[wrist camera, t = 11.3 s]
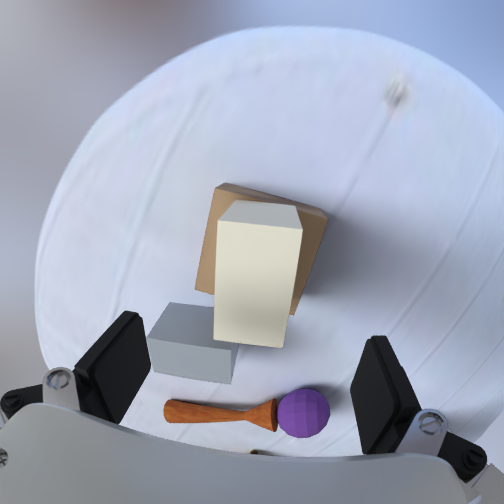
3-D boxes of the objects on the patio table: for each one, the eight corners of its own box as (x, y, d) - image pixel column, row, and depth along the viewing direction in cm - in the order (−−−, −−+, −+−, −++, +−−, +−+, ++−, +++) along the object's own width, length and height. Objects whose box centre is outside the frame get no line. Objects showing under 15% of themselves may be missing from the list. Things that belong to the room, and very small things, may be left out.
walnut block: (319, 207, 22) (328, 218, 19) (291, 291, 25) (293, 315, 21) (225, 182, 22) (214, 188, 19) (206, 269, 25) (194, 289, 21)
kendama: (152, 407, 28) (329, 409, 23) (172, 381, 33) (327, 375, 29) (168, 440, 28) (331, 445, 24) (185, 413, 34) (330, 411, 30)
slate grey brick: (240, 309, 26) (230, 350, 20) (239, 342, 27) (230, 384, 22) (169, 301, 26) (146, 337, 21) (173, 334, 28) (153, 371, 22)
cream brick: (235, 199, 19) (217, 220, 13) (294, 205, 18) (302, 229, 13) (229, 291, 21) (213, 339, 16) (282, 297, 21) (282, 347, 15)
